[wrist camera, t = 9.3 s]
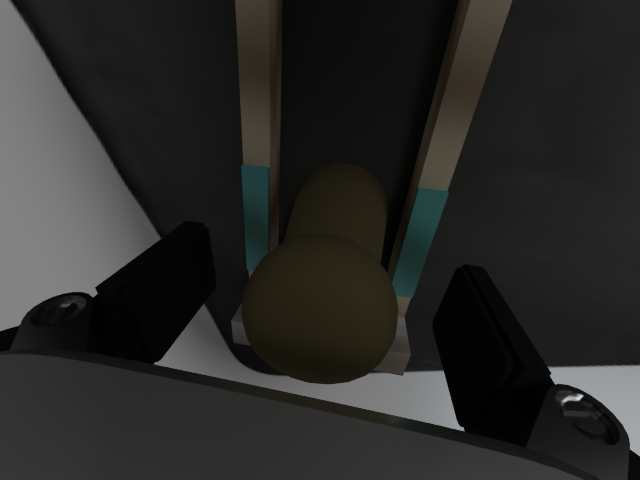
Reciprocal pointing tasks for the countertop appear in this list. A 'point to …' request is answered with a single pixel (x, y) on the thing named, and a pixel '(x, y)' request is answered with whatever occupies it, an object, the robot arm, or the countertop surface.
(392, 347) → the guide channel
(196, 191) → the countertop surface
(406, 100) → the countertop surface
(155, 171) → the countertop surface
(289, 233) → the dark brown rounded piece
